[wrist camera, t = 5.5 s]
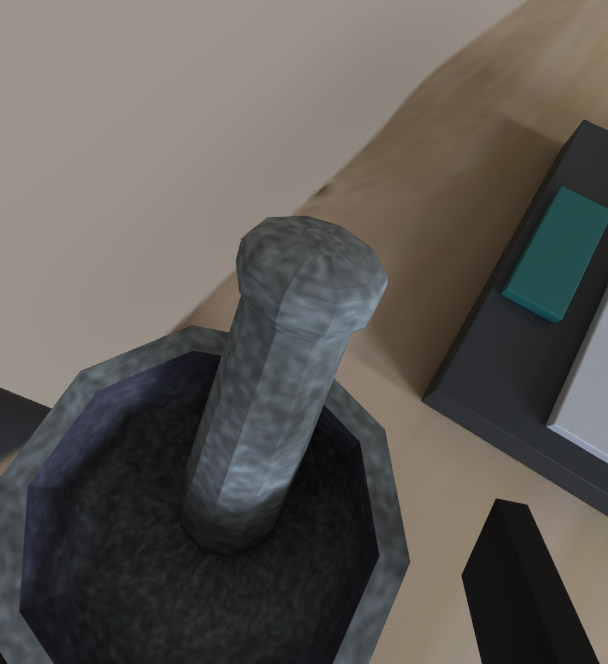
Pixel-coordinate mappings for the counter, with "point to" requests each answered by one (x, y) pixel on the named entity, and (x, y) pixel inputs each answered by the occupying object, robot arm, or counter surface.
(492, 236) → the counter surface
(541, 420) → the kitchen scale
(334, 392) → the mortar and pestle
